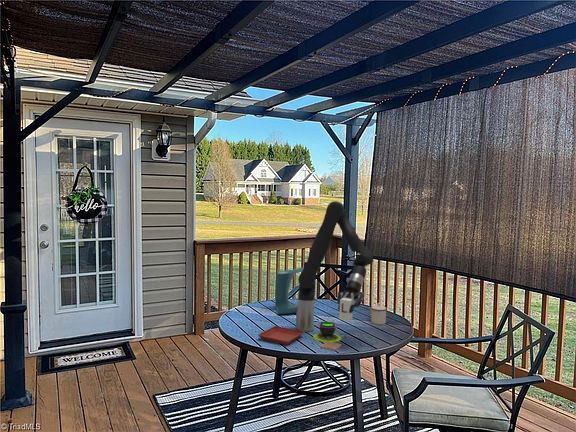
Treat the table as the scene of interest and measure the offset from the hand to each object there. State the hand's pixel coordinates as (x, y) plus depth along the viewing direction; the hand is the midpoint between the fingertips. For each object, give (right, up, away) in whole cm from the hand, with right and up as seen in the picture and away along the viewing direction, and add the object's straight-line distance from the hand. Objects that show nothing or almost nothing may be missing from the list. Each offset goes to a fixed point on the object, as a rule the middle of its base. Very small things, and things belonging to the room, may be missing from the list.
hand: (344, 311), depth 208 cm
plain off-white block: (+1, -4, +2) cm, 5 cm away
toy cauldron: (-7, -17, +14) cm, 24 cm away
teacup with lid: (+26, -17, +46) cm, 55 cm away
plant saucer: (-32, -17, +10) cm, 38 cm away
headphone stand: (-25, -15, +65) cm, 71 cm away
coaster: (-7, -18, 0) cm, 19 cm away
